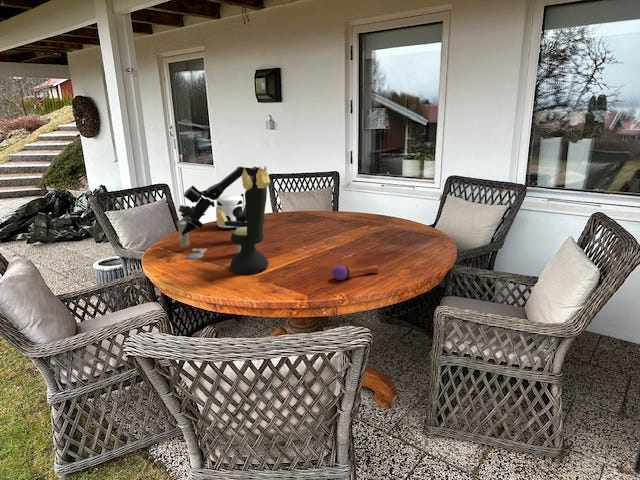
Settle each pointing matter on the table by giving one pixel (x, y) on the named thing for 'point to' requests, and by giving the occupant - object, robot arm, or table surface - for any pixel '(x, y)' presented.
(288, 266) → the table surface
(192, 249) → the bent rod
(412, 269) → the table surface
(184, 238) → the ringed post
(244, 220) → the travel mug
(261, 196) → the candelabra
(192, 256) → the coaster
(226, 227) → the milk container
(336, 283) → the table surface
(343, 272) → the kendama
